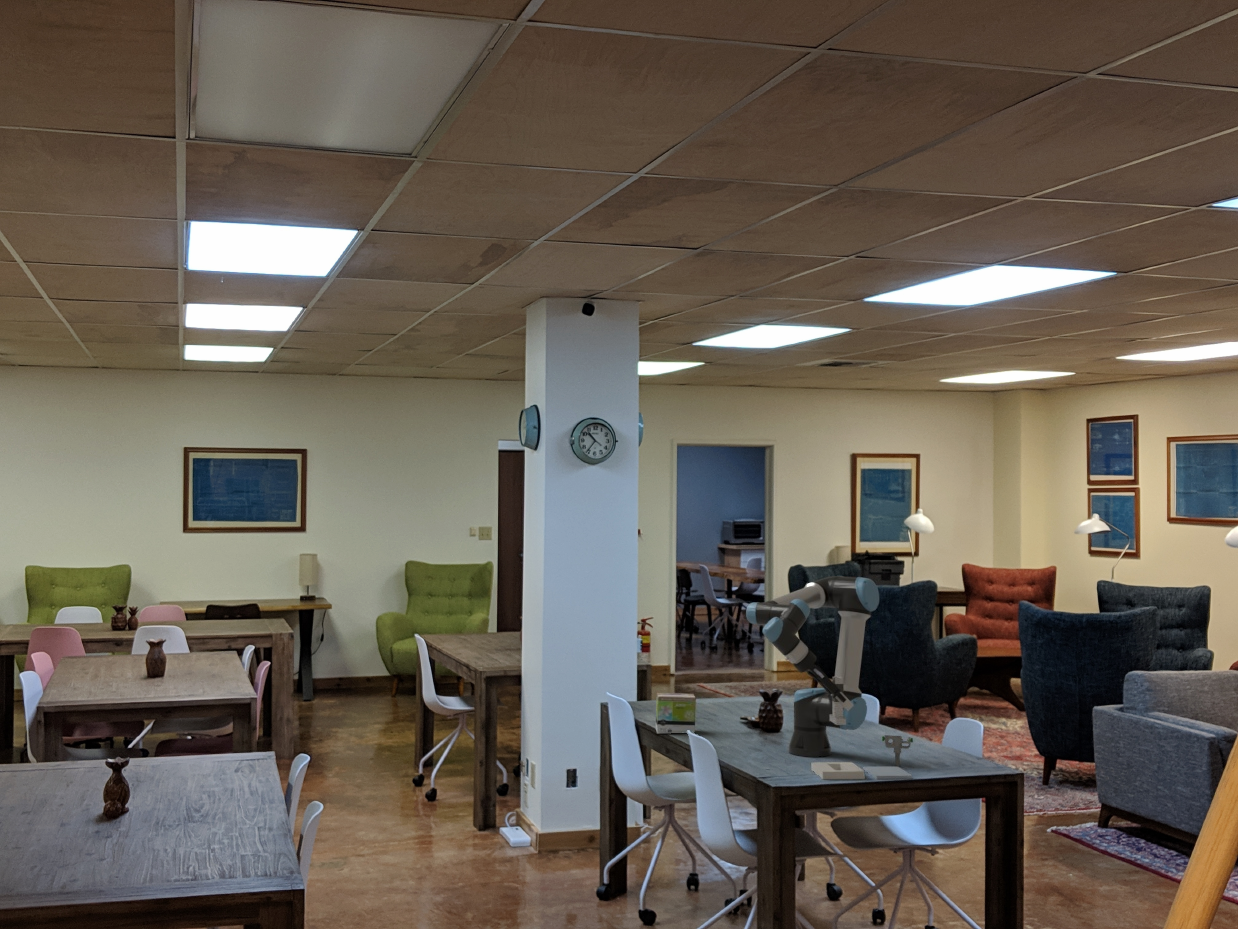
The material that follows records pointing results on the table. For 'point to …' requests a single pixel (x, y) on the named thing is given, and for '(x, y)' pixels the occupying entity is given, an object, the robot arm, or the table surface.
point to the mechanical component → (897, 745)
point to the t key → (837, 704)
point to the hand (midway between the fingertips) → (849, 706)
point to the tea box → (675, 712)
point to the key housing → (838, 770)
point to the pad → (887, 773)
